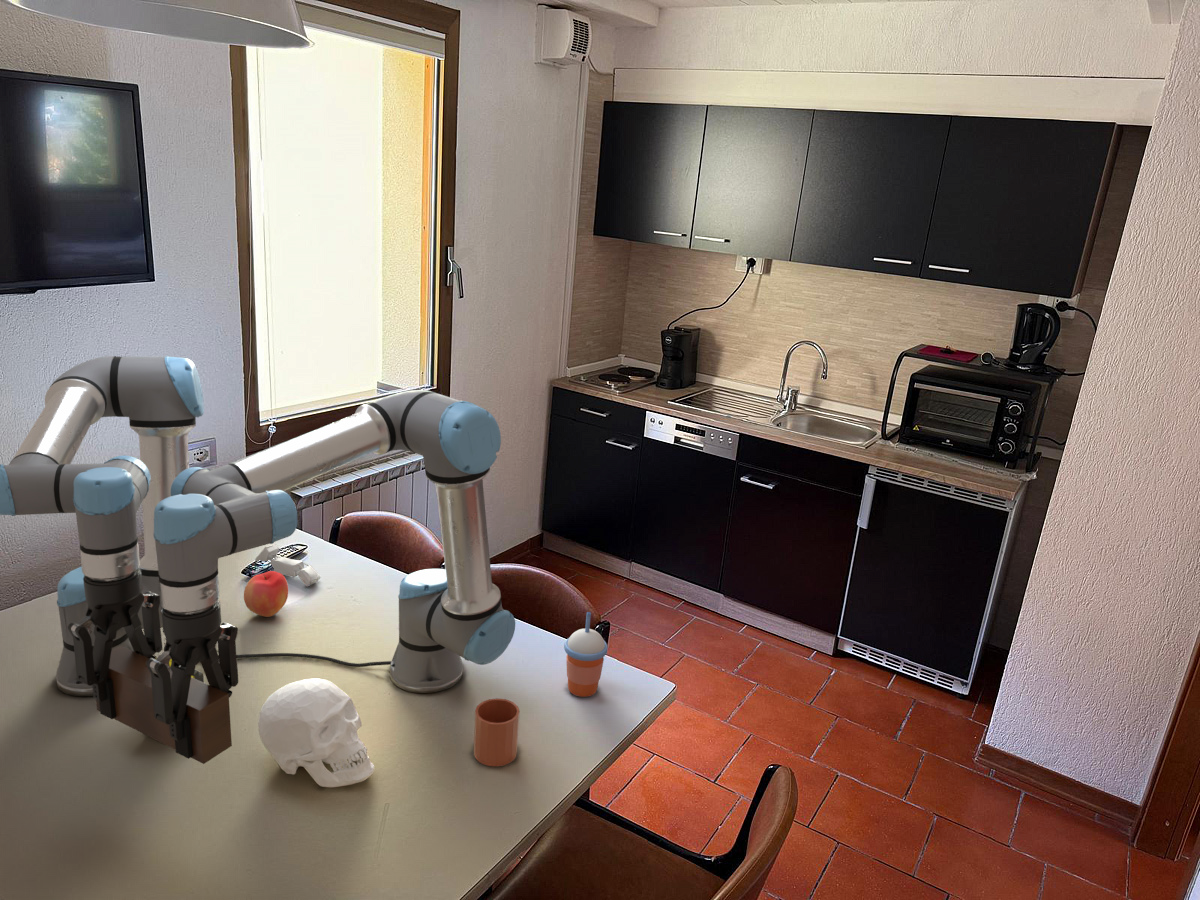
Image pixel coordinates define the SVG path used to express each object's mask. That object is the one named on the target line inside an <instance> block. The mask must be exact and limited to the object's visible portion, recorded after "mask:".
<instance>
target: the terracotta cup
mask: <svg viewBox="0 0 1200 900" xmlns="http://www.w3.org/2000/svg"><path fill="white" fill-rule="evenodd" d="M520 714H521V711H520V708H519V705H517V704H516V703H515V702H514V701H512V700H509V699H506V698H498V697H497V698H490V699H489V698H488V699H486V700H483V701H481V702H480V703H479V704H478V705H476V707H475V710H474V725H473V726H474V727H473V728H474V729H473V756H474V758H475V760H476V761H477V762H479V763H480V764H482V765H485V766H487V767H502V766H506V765H508V764H510V763H512V762H513V761H514V760H515V759H516V758H517V755H518V745H519V730H520Z"/></svg>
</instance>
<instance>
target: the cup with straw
mask: <svg viewBox="0 0 1200 900" xmlns="http://www.w3.org/2000/svg"><path fill="white" fill-rule="evenodd" d="M591 616H592V613H591V611H587V612H586V617H585V628H580V629H577V630H575V631H574V632H573V633H572V634H571V635H570V636H569V637H568V638H567V639H566V640H565V641H564V645H563V650H564V652H565V653H566V655H565V656H566V660H565V661H566V678H567V690H568V691H569V692H570V693H571V694H572V695H573V696H576V697H582V698H586V697H591V696H594V695H595V694H596V693H597V691H598V687H599V681H600V680H601V676H602V671H603V666H604V661H605V658H604V657H605V656H606V655H607V654H608V651H609V649H608V644H607V642H606V640H604V637H602V635H601V634H600V633H599V632H598V631H596V630H595V629H592V628H591V618H592V617H591Z"/></svg>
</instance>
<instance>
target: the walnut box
mask: <svg viewBox="0 0 1200 900" xmlns="http://www.w3.org/2000/svg"><path fill="white" fill-rule="evenodd" d="M148 659H149V658H147V657H145V656H143V655H140V654H138V653H136V652H134V651H131V650H129V649H127V648H125V647H123V646H120V647H118V648H116V649H114V650H112V651H111V657H110V664H109V670H108V676H107V678H109V679H111V680H113V689H114V699H115V708H116V717H115V718H114V719H113V720H115V721H117V722H120V723H121V724H123V725H125V726H127V727H129V728H131V729H133V730H135V731H136V732H139V733H141V734H143V735H145V736H147V737H149V738H151V739H153V740H155V741H157V742H159V743H161V744H163V745H164V746H167V747H169V748H171V749H173V750H175V751H176V747H175V739H173V738H171V736H170V729H169V725H167V724H165V723H163V722H161V721H159V720H157V719H155V718H154V707H153V694H152V681H151V673H150V671H149V669H148V668H147V666H146V662H147V660H148ZM169 673H170V677H171V678H172V670H171V669H170V670H169ZM95 705H96V706H95V707H96V711H97V712H99V713H100V705H99V701H98V700H96V699H95ZM185 716H187V717H190V723H191V736H192V749H193V756H192V757H191V758H190V759H192V760H195V761H197V762H199V763H201V764H203V765H205V764H206V763H208V762H209V761H211V760H212V759H214V758H216V757H217V756H219V755H220V754H222V753H223V752H225V751H226V750H228V749H230V748H231V747H232V746H233V742H232V725H231V711H230V697H229V694H228V693H225V692H223V691H221V690H219V689H216V688H214V687H212V686H210V685H209V683H205V682H204V683H203V682H201V681H199V680H196V679H194V678H192V677H191V681H190V687H189V693H188V700H187V706H186V712H185Z"/></svg>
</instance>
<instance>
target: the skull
mask: <svg viewBox="0 0 1200 900" xmlns="http://www.w3.org/2000/svg"><path fill="white" fill-rule="evenodd" d="M257 725H258V734H259V739H260V741H261V743H262V745H263V746H264V748H265V749H266V751H267V752H268V753H269V755H270V756H271V757H272V759H273V760H275V762H276V763H277V764H278V766H279V768H280V769H281V770H282V771H283V772H285V774H288V775H295V774H297V771H298V768H299V767H303V768H304V769H305V770H306V772H307V773H308V774H309V775H310V777H311V778H312V779H313V781H314V782H315V783H316V784H317V785H319V787H323V788H338V787H344V786H345V787H346V786H350V785H355V784H358V783H361V782H364V781H366V780H367V779H368V778H370V777H371V776H372V775H373V774H374V771H375V764H374V763H373V762H372V761H371V758H370V757H369V755H368V748H367V746H365V743H364V742H363V741H362V740H361V739H360V738H359V734H358V730H359V729H360V728H362V725H363V724H362V720H361V718H360V714H359V713H358V710H357V708H356V706H355V703H354V701H353V700H352V698H351V696H350V695H348V694H347V693H346V692H345V691H344V690H342V689H341V688H340V687H339V686H337V685H336V684H335V683H334V682H332V681H330V680H328V679H325V678H321V677H320V678H318V677H312V678H311V677H310V678H304V679H300V680H296V681H293V682H290V683H289V682H288V683H287V684H285V685H283V686H282V687H280V688H277V689H276V690H275V691H274V692H272V693H271V694H269V695H268V697H267V699H266V700H265V701H264V703H263V704H262V706H261V709H260V710H259V715H258V723H257ZM324 763H326V764H328V765H330V768H332V772H331V770H328V769H327V768H326V766H325V764H324Z"/></svg>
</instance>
